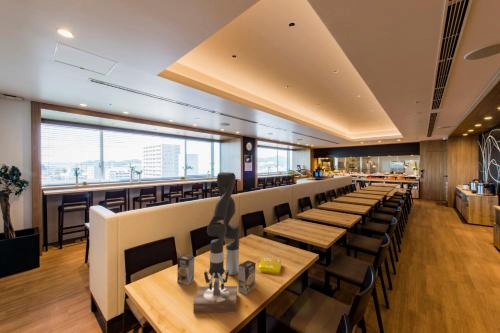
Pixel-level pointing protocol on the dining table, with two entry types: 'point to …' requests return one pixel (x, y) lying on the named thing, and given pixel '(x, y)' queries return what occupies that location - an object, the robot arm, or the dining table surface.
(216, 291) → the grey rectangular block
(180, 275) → the coffee box
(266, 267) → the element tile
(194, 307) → the tuner box
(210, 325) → the dining table surface
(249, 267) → the coffee box
